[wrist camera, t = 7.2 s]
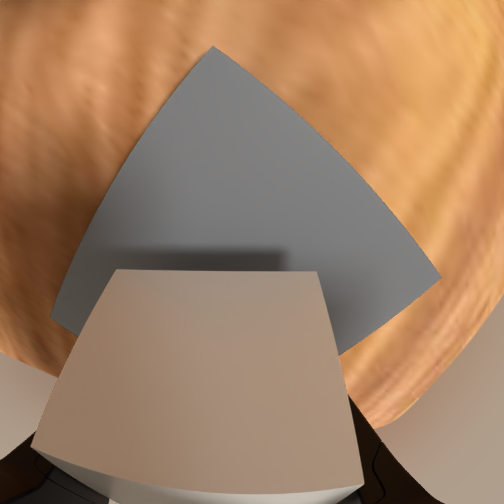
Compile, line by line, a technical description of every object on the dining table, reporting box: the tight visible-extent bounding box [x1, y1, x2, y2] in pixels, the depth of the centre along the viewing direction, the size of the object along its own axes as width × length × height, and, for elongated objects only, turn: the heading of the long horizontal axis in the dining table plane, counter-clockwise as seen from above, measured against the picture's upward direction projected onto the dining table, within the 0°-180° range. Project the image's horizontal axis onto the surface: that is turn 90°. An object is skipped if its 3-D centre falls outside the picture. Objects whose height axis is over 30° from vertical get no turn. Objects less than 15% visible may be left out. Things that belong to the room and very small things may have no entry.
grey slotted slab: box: [50, 46, 442, 355], centre depth 11 cm, size 14×12×5 cm
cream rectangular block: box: [31, 269, 364, 504], centre depth 9 cm, size 6×10×6 cm, turn 0°
